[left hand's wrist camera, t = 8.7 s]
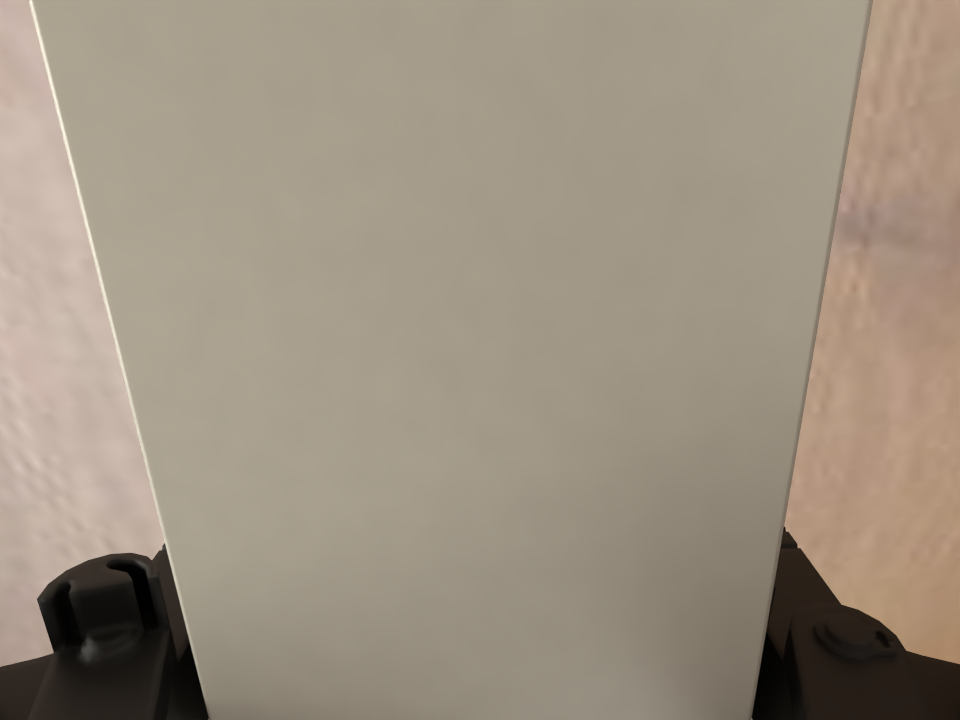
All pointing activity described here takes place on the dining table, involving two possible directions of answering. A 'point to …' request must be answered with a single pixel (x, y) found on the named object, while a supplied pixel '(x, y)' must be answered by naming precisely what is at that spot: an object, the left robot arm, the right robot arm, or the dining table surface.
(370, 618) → the board
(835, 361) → the dining table surface
